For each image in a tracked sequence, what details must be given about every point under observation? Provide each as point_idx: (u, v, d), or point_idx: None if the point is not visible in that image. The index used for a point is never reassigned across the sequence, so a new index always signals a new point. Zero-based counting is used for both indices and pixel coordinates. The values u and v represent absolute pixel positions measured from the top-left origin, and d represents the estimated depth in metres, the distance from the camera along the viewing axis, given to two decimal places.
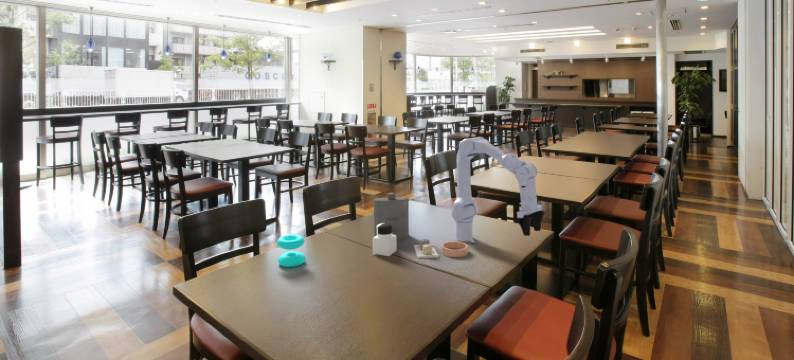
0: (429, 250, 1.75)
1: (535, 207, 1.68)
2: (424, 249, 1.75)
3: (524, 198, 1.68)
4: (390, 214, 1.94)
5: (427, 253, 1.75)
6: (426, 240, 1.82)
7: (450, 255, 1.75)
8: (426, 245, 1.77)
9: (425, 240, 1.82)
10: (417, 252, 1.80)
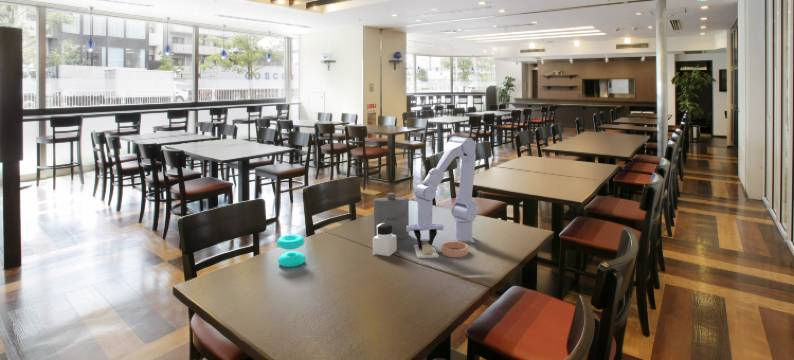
0: (429, 250, 1.75)
1: (424, 226, 1.78)
2: (424, 249, 1.75)
3: None
4: (390, 214, 1.94)
5: (427, 253, 1.75)
6: (426, 240, 1.82)
7: (450, 255, 1.75)
8: (426, 245, 1.77)
9: (425, 240, 1.82)
10: (417, 252, 1.80)
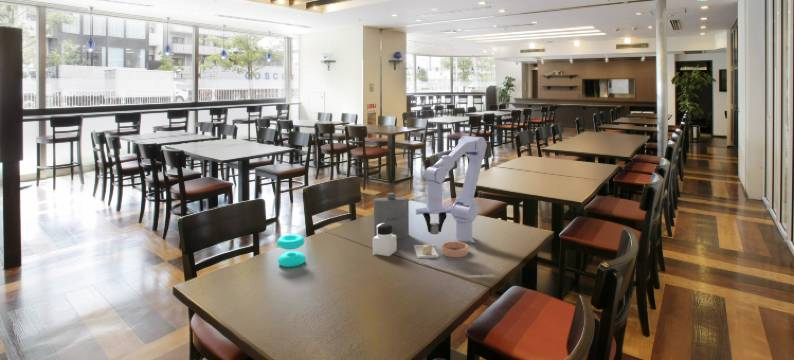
0: (429, 250, 1.75)
1: (434, 209, 1.76)
2: (424, 249, 1.75)
3: (427, 198, 1.78)
4: (390, 214, 1.94)
5: (427, 253, 1.75)
6: (435, 223, 1.81)
7: (450, 255, 1.75)
8: (426, 245, 1.77)
9: (434, 223, 1.81)
10: (417, 252, 1.80)
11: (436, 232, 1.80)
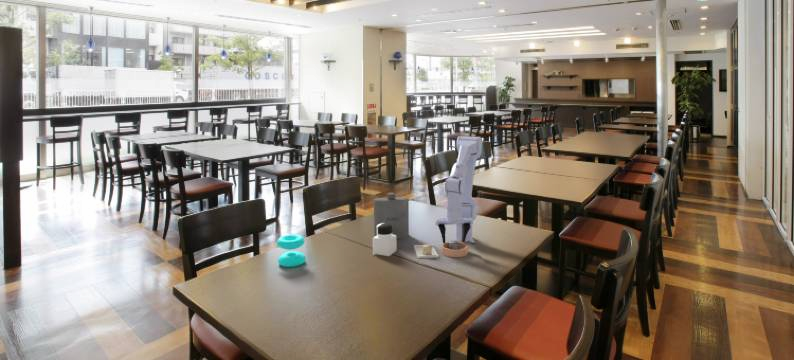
0: (429, 250, 1.75)
1: (453, 219, 1.76)
2: (424, 249, 1.75)
3: None
4: (390, 214, 1.94)
5: (427, 253, 1.75)
6: (455, 241, 1.81)
7: (450, 255, 1.75)
8: (426, 245, 1.77)
9: (454, 241, 1.81)
10: (417, 252, 1.80)
11: None
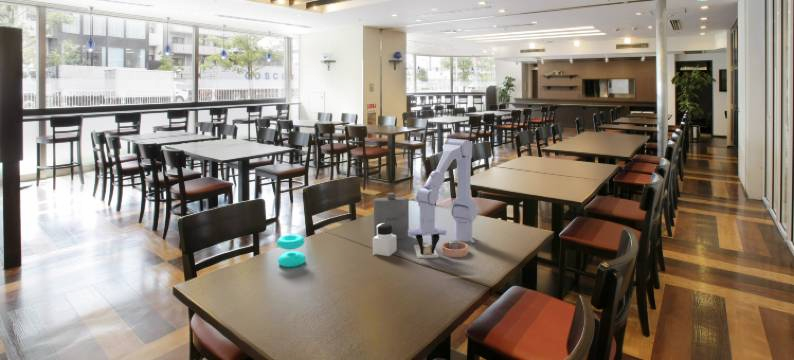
0: (429, 250, 1.75)
1: (426, 231, 1.72)
2: (424, 249, 1.75)
3: None
4: (390, 214, 1.94)
5: (427, 253, 1.75)
6: (455, 241, 1.81)
7: (450, 255, 1.75)
8: (426, 245, 1.77)
9: (454, 241, 1.81)
10: (417, 252, 1.80)
11: None
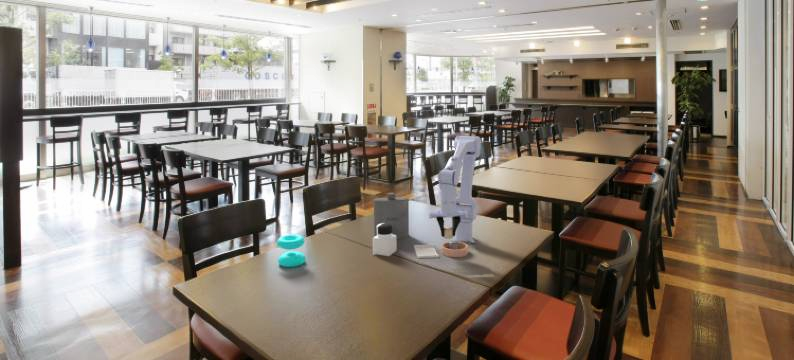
0: (450, 232, 1.74)
1: (447, 212, 1.71)
2: (445, 231, 1.74)
3: None
4: (390, 214, 1.94)
5: (448, 235, 1.74)
6: (455, 241, 1.81)
7: (450, 255, 1.75)
8: (447, 227, 1.76)
9: (454, 241, 1.81)
10: (417, 252, 1.80)
11: None
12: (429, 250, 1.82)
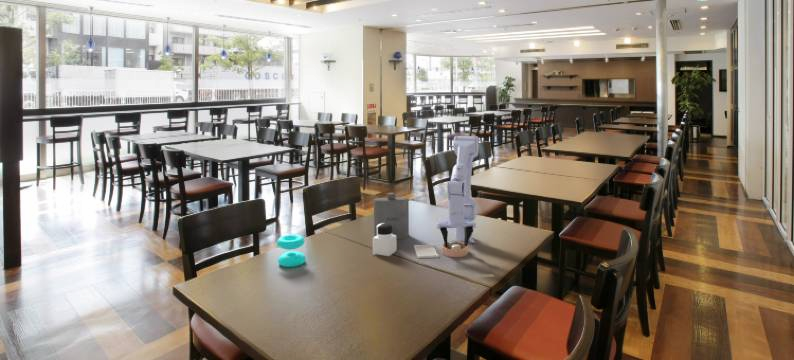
0: None
1: (456, 223, 1.72)
2: (453, 249, 1.75)
3: (449, 211, 1.74)
4: (390, 214, 1.94)
5: None
6: (455, 241, 1.81)
7: (450, 255, 1.75)
8: (455, 245, 1.77)
9: (454, 241, 1.81)
10: (417, 252, 1.80)
11: None
12: (429, 250, 1.82)
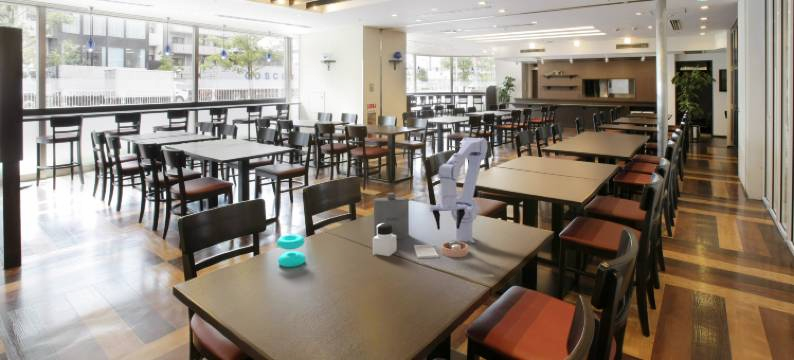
0: None
1: (448, 206, 1.76)
2: (453, 249, 1.75)
3: (441, 195, 1.78)
4: (390, 214, 1.94)
5: None
6: (455, 241, 1.81)
7: (450, 255, 1.75)
8: (455, 245, 1.77)
9: (454, 241, 1.81)
10: (417, 252, 1.80)
11: None
12: (429, 250, 1.82)
